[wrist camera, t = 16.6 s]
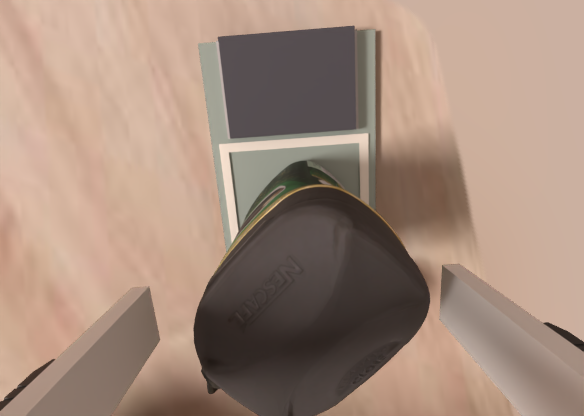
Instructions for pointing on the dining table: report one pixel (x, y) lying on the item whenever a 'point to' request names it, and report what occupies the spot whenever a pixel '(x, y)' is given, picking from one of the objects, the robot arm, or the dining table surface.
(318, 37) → the pad
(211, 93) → the board
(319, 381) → the coffee jar
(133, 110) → the dining table surface
